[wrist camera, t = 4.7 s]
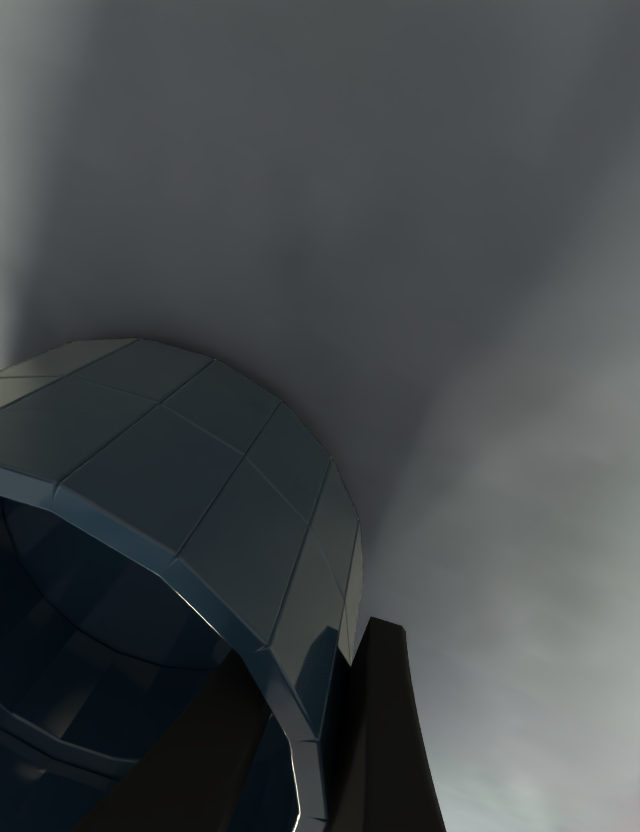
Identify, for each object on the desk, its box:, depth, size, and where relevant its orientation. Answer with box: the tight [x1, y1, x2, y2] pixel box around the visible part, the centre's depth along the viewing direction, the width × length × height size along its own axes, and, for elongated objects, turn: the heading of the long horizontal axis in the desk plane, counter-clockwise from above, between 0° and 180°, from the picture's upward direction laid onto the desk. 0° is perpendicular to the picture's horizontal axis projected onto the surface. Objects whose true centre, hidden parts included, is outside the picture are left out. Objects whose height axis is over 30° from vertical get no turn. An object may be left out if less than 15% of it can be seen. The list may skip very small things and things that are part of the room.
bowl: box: [0, 338, 364, 832], centre depth 12 cm, size 11×11×6 cm
